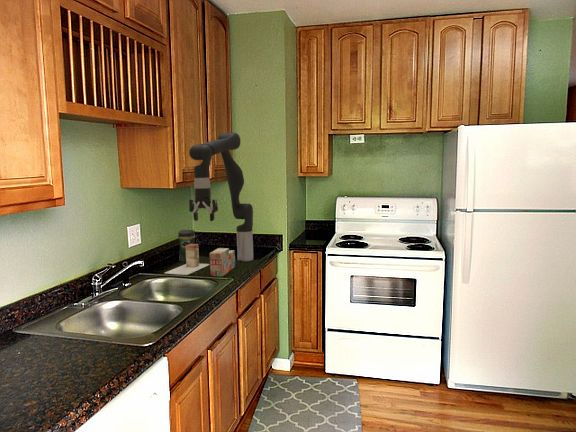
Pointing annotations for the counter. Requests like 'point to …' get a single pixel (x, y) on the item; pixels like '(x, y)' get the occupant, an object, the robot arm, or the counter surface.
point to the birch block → (192, 255)
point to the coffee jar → (185, 241)
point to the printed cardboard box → (221, 261)
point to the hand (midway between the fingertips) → (204, 220)
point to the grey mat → (186, 269)
